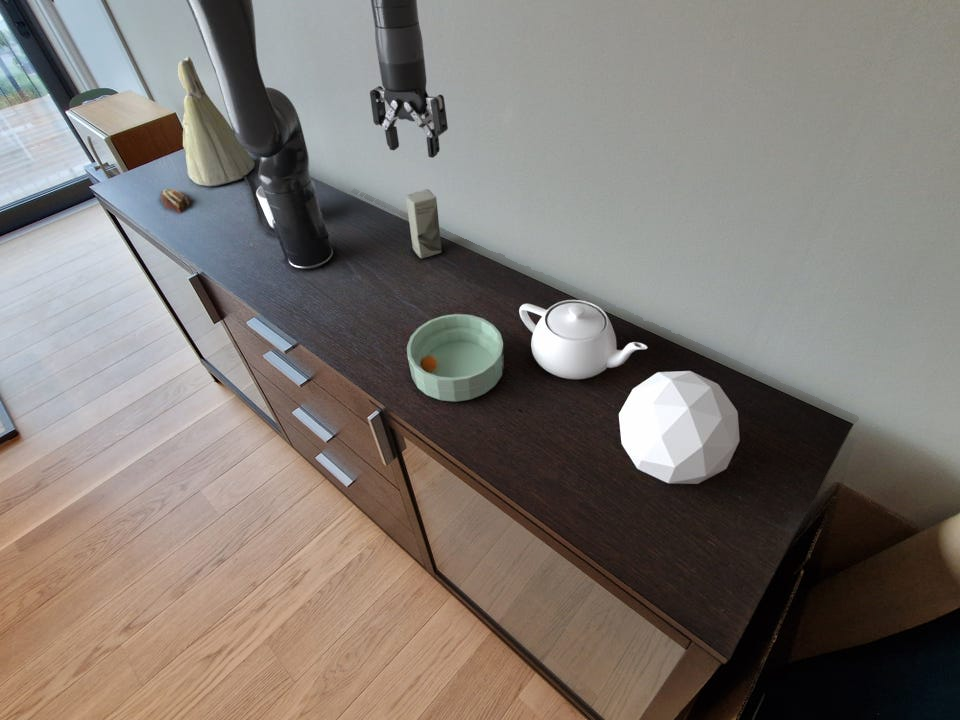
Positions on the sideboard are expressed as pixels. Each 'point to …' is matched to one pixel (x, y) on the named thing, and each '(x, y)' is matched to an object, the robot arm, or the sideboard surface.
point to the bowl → (456, 357)
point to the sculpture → (209, 136)
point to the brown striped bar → (175, 200)
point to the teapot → (575, 339)
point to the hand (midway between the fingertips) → (413, 152)
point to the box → (424, 223)
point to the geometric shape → (679, 427)
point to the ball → (429, 364)
